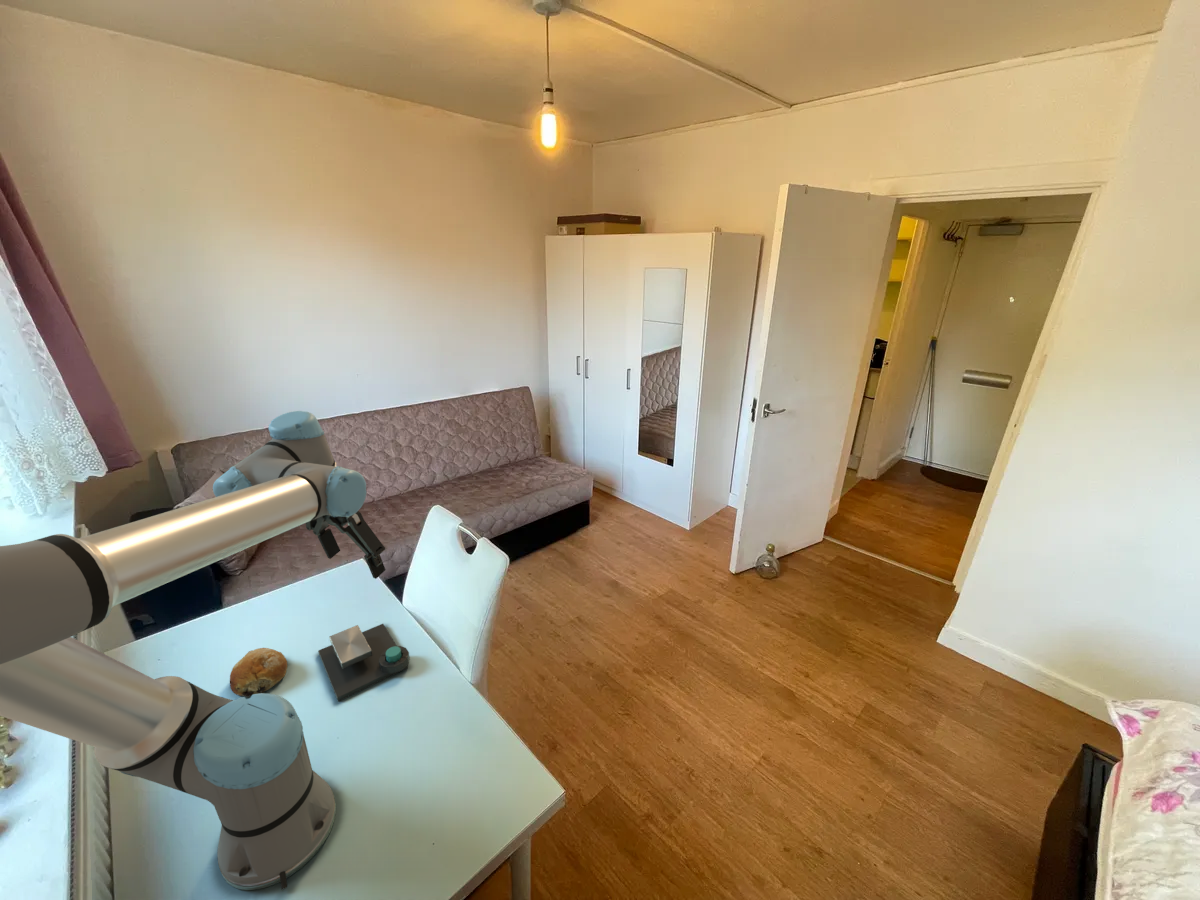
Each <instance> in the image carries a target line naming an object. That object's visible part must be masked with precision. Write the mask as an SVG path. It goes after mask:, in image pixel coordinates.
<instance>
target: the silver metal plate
mask: <svg viewBox="0 0 1200 900" xmlns="http://www.w3.org/2000/svg"><path fill="white" fill-rule="evenodd" d="M362 632H363V631H362V630H361V628H360V626H359V625H358V624H357V625H354V626H351V627H349V628H347V629H344V630H342V631H339V632H336V633H334V634H332V635H330V636H329V637H328V638H329V642H330V644H331V645H332V647H333V649H334V651H335V653H336V656H337V658H338V660H339V662H340V665H341V667H342V669H344V668H346V667H348V666H350V665H353V664H355V663H357V662H359V661H361V660H364V659H366V658H368V657H370V656H372V650H371V649H370V647H369V645H368V643H367V641H366V639H365V637H364V635H363V634H362Z"/></svg>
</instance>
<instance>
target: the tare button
mask: <svg viewBox="0 0 1200 900" xmlns="http://www.w3.org/2000/svg"><path fill="white" fill-rule="evenodd" d="M397 646H398V645H396V646H394V647H391V648H389V649H388V650H387V651H386V659H387V661H388V662H389V663H394V662H397V661H398V660H400V658H401V649H400V648H399V647H397Z"/></svg>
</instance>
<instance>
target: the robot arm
mask: <svg viewBox="0 0 1200 900" xmlns="http://www.w3.org/2000/svg"><path fill="white" fill-rule="evenodd" d="M268 432H269V436H270V438H271V439H270V440H269V441H267V442H266V443H264V445H263V446H261V447H260V448H258V449H256V450H255V451H254V452H252V453H251V454H249V455H248V456H246V457H244V458H243V459H242V460H240V461H239V462H237V463H236V464H235V465H232V466H230V467H229V469H228V470H227V471H225V472H224V473H223V474H221V475H220V476H219V477H217V479H215V480H214V482H213V485H212V492H213V494H214V496H215V497H211V498H208V499H205V500H201V501H198V502H195V503H192V504H189V505H185V506H182V507H178V508H175V509H171V510H168V511H165V512H162V513H158V514H155V515H152V516H148V517H145V518H142V519H138V520H135V521H132V522H128V523H125V524H122V525H118V526H115V527H111V528H109V529H105V530H101V531H98V532H95V533H92V534H89V535H85V536H81V537H79V538H77V537H75V536H72V535H69V534H66V533H65V534H64V533H55V534H51V535H48V536H45V537H41V538H38V539H34V540H30V541H26V542H25V541H24V542H20V543H15V544H7V545H0V717H3V718H5V719H8V720H12V721H15V722H18V723H21V724H24V725H27V726H29V727H33V728H36V729H39V730H42V731H44V732H48V733H51V734H54V735H57V736H61V737H63V738H66V739H69V740H73V741H76V742H78V743H82V744H84V745H87V746H90V747H94V748H93V750H94V757H95V759H96V760H97V762H98V763H99V764H100V765H101V766H103V767H105V768H107V769H111V770H114V771H117V772H119V773H122V774H124V775H126V776H130V777H134V778H140V779H143V780H145V781H150V782H152V783H155V784H159V785H161V786H164V787H167V788H171V789H172V790H173V789H174V790H177V791H180V792H181V793H185V794H187V795H191V796H193V797H197V798H199V799H202V800H205V801H207V802H209V803H211V805H212V806H213V807H214V810H215V812H216V814H217V817H218V819H219V821H220V825H221V827H220V832H219V838H218V845H217V863H218V868H219V870H220V871H219V872H220V873H221V876H222V877H223V879H224V881H225V882H226V883H227V884H228V885H230V886H231V887H233V888H235V889H238V890H243V891H254V890H255V891H256V890H261V889H265V888H268V887H271V886H274V885H276V884H278V883H280V889H281V890H284V889H286V888H288V882H287V879H288V878H289V877H292V875H294V874H295V873H297V872H298V871H299V870H300V869H302V868H303V867H304V866H306V864H307V863H308V862H310V861H311V859H313V857H314V856H315V855H316V854H317V853H318V852H319V850H320V849H321V848H322V846H323V845H324V843H325V842H326V841H327V839H328V837H329V835H330V833H331V831H332V829H333V827H334V823H335V820H336V814H337V804H336V799H335V795H334V791H333V790H332V788H331V786H330V785H329V783H328V781H326V780H325V779H324V778H323V777H321V775H319V774H318V773H317V772H316V771H314V770H313V767H312V763H311V759H310V755H309V751H308V746H307V741H306V738H305V735H304V729H303V723H302V720H301V719H300V717H299V715H298V714H297V711H296V709H295V707H294V706H293V704H292V703H291V702H289V700H288V699H286V698H285V697H282V696H280V695H278V694H274V693H265V692H263V693H260V694H253V695H252V696H250V697H249V698H247V697H246V696H240V697H238V698H235V699H231V698H227V697H223V696H219V695H216V694H214V693H211V692H209V691H207V690H205V689H203V688H201V687H200V686H198V685H196V684H193V683H192V682H190V681H188V680H186V679H185V678H183V677H181V676H176V675H165V676H161V677H156V678H153V677H151V676H149V675H147V674H145V673H143V672H141V671H140V670H137V669H135V668H133V667H131V666H129V665H128V664H125V663H123V662H121V661H120V660H117V659H115V658H113V657H111V656H109V655H108V654H105V653H104V652H101V650H100V651H99V650H98V649H95V648H93V647H91V646H90V645H88V644H85V643H84V642H82V641H80V640H78V639H76V638H74V637H73V636H75V635H77V634H79V633H82V632H85V631H87V630H89V629H91V628H93V627H95V626H97V625H99V624H102V623H103V622H105V621H106V620H107V619H108V618H109V616H110V614H111V613H112V609H113V607H115V606H117V605H119V604H122V603H124V602H126V601H129V600H131V599H134V598H136V597H138V596H140V595H142V594H143V595H144V594H146V593H147V592H150V591H152V590H154V589H157V588H159V587H161V586H163V585H165V584H167V583H170V582H173V581H175V580H177V579H179V578H182V577H184V576H187V575H188V574H191V573H193V572H196V571H199V570H200V569H203V568H205V567H207V566H210V565H212V564H214V563H217V562H218V561H221V560H224V559H225V558H228V557H230V556H232V555H235V554H237V553H240V552H242V551H245V550H246V549H248V548H251V547H253V546H255V545H258V544H260V543H262V542H265V541H267V540H270V539H272V538H274V537H276V536H279V535H282V534H284V533H286V532H288V531H290V530H293V529H295V528H297V527H299V526H301V525H304V524H305V528H306V530H308V531H309V532H310V531H312V533H313V534H314V535H315V536H317V539H318V541H319V542H320V544H321V547H322V549H323V551H324V553H325V555H326V557H327V558H328V559H330V560H331V559H332V558H333V557H335V556H336V555H337V554H338V553H340V552H341V549H340V547H339V544H338V542H337V540H336V538H335V536H334V533H333V531H332V529H330V528H329V527H330V526H334V527H335V528H336V529H337V530H338V531H339V532H340V533H341V534H345V535H347V536H348V538H349V539H350V540H351V541H352V542H353V543H354V544H355V545H356V546H357V547H358V548H359V549H360V550H361V551H362V552H363V554H365V555H364V560H365V561H366V564H367V567H368V569H369V571H370V574H371V576H372V579H375V580H376V579H378V578H379V577H380V576H381V575H382V574H383V573H384V572H385V571H386V570H387V569H386V567H385V564H384V562H383V559H382V557H381V554H382V553H383V552H384V551H385V550H386V547H385V545H384V544H383V543H382V542H381V540H380V539H379V537H378V536H377V535H376V534H375V532H374V531H373V530H372V528H371V527H370V526H369V524H368V523H367V521H366V520H365V518H364V517H363V515H362V513H361V511H359V510H360V509H362V507H363V505H364V503H365V501H366V498H367V493H368V491H367V482H366V479H365V477H364V476H363V475H362V473H360V472H359V471H358V470H354V469H350V468H345V467H343V466H340V465H338V464H337V462H336V460H335V459H334V458H335V457H334V456H333V453H332V450H331V449H330V445H329V443H328V439H327V438H326V435H325V431H324V430H323V428H322V426H321V424H320V422H319V420H318V419H317V417H316V415H314V414H313V413H311V412H309V411H303V410H294V411H289V412H285V413H282V414H280V415H278V416H276V417H275V418H273V419H272V420H271V421H270V423H269V424H268ZM346 525H347V526H346ZM344 526H346V527H344Z"/></svg>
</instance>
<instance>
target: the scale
mask: <svg viewBox="0 0 1200 900" xmlns="http://www.w3.org/2000/svg"><path fill="white" fill-rule="evenodd" d="M361 632H362V634H363V635H364V637H365V639H366V641H367V643H368V645H369V647H370V649H371V650H372V656H370V657H368V658H366V659H364V660H361V661H359V662H357V663H355V664H353V665H350V666H348V667H346V668H344V669H342V667H341V665H340V662H339V660H338V658H337V656H336V653H335V651H334V649H333V647H332V644H331V645H328V646H325V647H324V648H321V649H319V650H318V655H319V658H320V660H321V662H322V666H323V667H324V670H325V674H326V675H327V678H328V681H329V684H330V685H331V688H332V691H333V693H334V695H335V697H336V701H337V702H341V701H343V700H345V699H347V698H349V697H351V696H353V695H355V694H358V693H359V692H362V691H364V690H366V689H368V688H370V687H372V686H374V685H376V684H378V683H380V682H382V681H385V680H387V679H388V678H390V677H393V676H394V675H396V674H399V673H401V672H403V671H404V670H407V669H408V668H409V666H408V665H409V663H410V660H411V659H410V652H409V650H408V648H407V647H405V646H402V645H397V644H396V643H395V641H394V639H393V638H392V635H391V634H390V632H389V631H388V629H387V628H386V626H385V624H384V623H381V624H379V625H375V626H374V627H371V628H369V629H367V630H364V631H361ZM394 646H397V647H399V648H400V649H401V658H400V660H398V661H397V662H394V663H389V662H388V661H387V659H386V651H387V650H388V649H389V648H391V647H394Z"/></svg>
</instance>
